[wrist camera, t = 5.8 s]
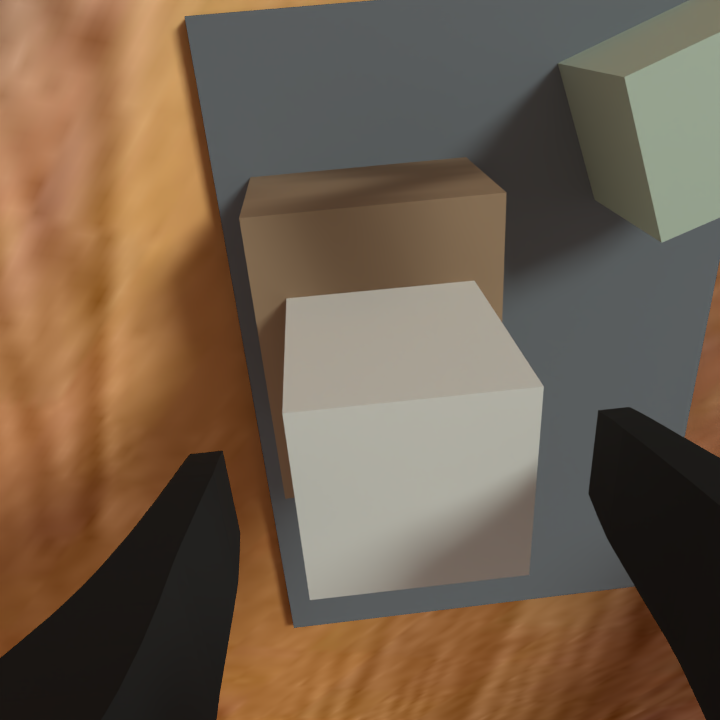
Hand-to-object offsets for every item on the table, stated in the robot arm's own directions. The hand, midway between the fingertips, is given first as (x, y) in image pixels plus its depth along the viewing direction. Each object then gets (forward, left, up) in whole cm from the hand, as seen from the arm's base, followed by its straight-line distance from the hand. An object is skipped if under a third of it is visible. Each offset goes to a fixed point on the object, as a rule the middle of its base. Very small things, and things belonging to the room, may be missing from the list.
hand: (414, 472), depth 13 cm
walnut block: (0, 0, -9) cm, 9 cm away
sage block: (-8, -5, -9) cm, 13 cm away
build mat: (-3, +3, -9) cm, 10 cm away
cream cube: (0, 0, -5) cm, 5 cm away
